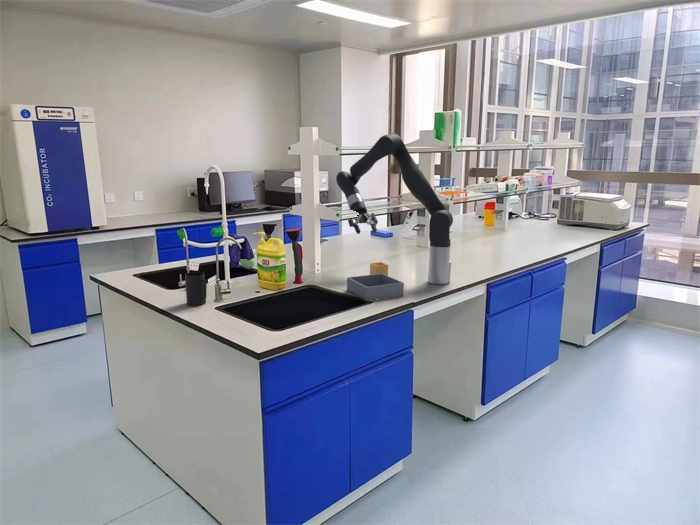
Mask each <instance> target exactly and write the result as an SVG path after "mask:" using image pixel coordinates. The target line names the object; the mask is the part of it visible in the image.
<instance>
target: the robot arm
mask: <svg viewBox="0 0 700 525" xmlns="http://www.w3.org/2000/svg"><path fill="white" fill-rule="evenodd" d="M391 155H392V156H393V157H394V158H395V160H396V162H397V163H398V165H399V168H400V173H401V177H402V181H403V183H404V185H405V186H406V188H407V189H408V190H409V192H410V194H411V195H412V196H413V197H414V198H415V199H416V200H417V201H418V202H420V203H421V204H422V205H423V206H424V208H425V209H426V210H427V212H428V213H429V215H430V218H429V221H428V222H429V224H428V228H429V229H428V240H429V255H428V256H429V257H428V272H427V274H428V276H427V282H428V283H429V284H435V285H447V284H448V283H450V282H451V272H452V271H451V269H452V262H451V261H450V255H451V239H450V232H451V230H450V229H451V227H452V225H453V222H454V217H453V215H452V213H451V212H450V210H448V208H447V207H446V206H445V205H444V204H443V202H442V201H441V200H440V199H439V197H438V195H437V194H436V192H435V190H434V189H433V187H432V185H431V184H430V183H429V181H428V179H427V178H426V176H425V175H424V173H423V172H422V170H421V169H420V168H419V166H418V164H417V163H416V162H415V160H414V159H413V157H412V155H411V154H410V152H409V150H408V148H407V147H406V145H405V143H404V141H403V139H402V137H401V136H399V135H398V134H397V133H394V132H393V133H387V134H384V135H382V136H380V137H379V138H378V140H377V141H376V142H375V143H374V144H373V146H372V147H371V148H370V149H369V150H368V152H366V153H365V154H364V155H363V156H362V157H361V158H359V159H358V160H357V161H355V163H354V164H352V166H350V167H349V172H347V171H345V170H343V171H339V172H337V175H336V178H335V179H336V181H335V182H336V184H337V185H338V187H339V189H340V190H341V191H342V193H343V194H344V197H345V199H346V201H347V205H348V207H349V211H350V210H353V211H356V212H358V213H359V215H357V216H358V217H356V218H358V219H353V218H348V219H350V220H348V219H347V222H348V225H349V227H350V228H354V231H355V233H356V235H360V234H361V229H360V226H359V224H365V225H369V226H370V228H371V230H372V233H373V234H376V233H377V231H378V229H377V225H378V223H379V221H378V219H377V217H376V215H375V213H374V212H372V213H370V214H369V213H368V208H367V207H366V204H365V202H364V199H363V197H362V196H361V193H360V191H359V188H358V187H357V186H356V185H357V184H358V182H359V181H360V179H361V178H362V177H363V176H364V175H365V174H367V173H368V172H369V171H370V170H371V169H372V168H373V166H374V165H375V164H376V163H378V161H380V160H381V159H383V158H385V157H387V156H391ZM368 216H370V217H368ZM353 220H355V221H353Z"/></svg>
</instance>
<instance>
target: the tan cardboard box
mask: <svg viewBox="0 0 700 525" xmlns="http://www.w3.org/2000/svg"><path fill="white" fill-rule="evenodd" d="M382 273H383V274H385V275H387V276H389V264H388V263H385V262H382V261H376V262H370V263H369V275H373V274H382Z"/></svg>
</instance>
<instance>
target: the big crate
mask: <svg viewBox="0 0 700 525" xmlns="http://www.w3.org/2000/svg"><path fill="white" fill-rule="evenodd" d="M404 285H405V284H404V282H403V281H400V280H398V279H395V278H394V277H391V276H390V275H388V276H387V275H385V274H383V273H382V274H373V275H370V274H363V275H355V276H348V277H346V291H348V292H349V293H350V292H351V293H350V294H352V295H354V296H356V297H357V296H358V297H357V298H359V297H360V298H359V299H361V298H362V299H361V300H363V301H364V300H365V301H364V302H366V301H367V302H370V301H369V300H374V301H377V300H376V299H381V300H386V299H385V298H388V299H394V297H395V298H399V297H400V298H401V297H404V290H405V288H404V287H405V286H404Z"/></svg>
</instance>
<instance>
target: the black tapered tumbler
mask: <svg viewBox="0 0 700 525" xmlns="http://www.w3.org/2000/svg"><path fill="white" fill-rule="evenodd" d="M184 277H185V278H184V279H185V280H184V282H185V294H186V295H185V296H186V305H187V306H189V307H200V306H203V305H206V304H207V285H208V284H207V283H208V282H207V280H206V278H205V272H203V271H189V272H186V273H185V274H184Z"/></svg>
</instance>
